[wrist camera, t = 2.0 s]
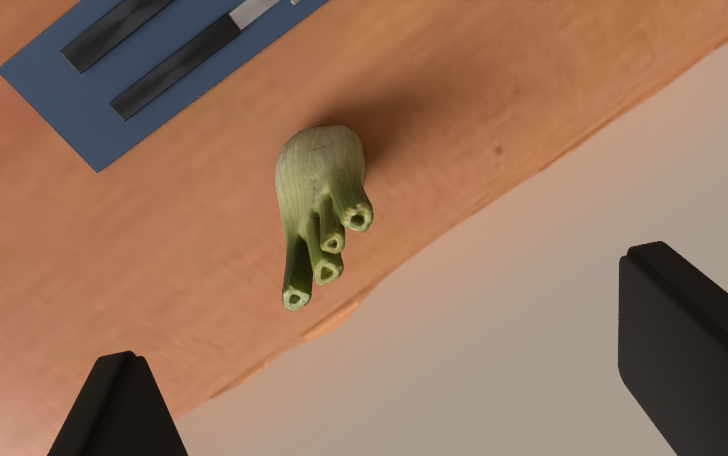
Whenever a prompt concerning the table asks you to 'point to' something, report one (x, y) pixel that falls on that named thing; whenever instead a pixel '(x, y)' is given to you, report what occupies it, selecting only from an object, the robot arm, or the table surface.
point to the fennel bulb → (319, 205)
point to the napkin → (133, 70)
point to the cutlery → (131, 15)
